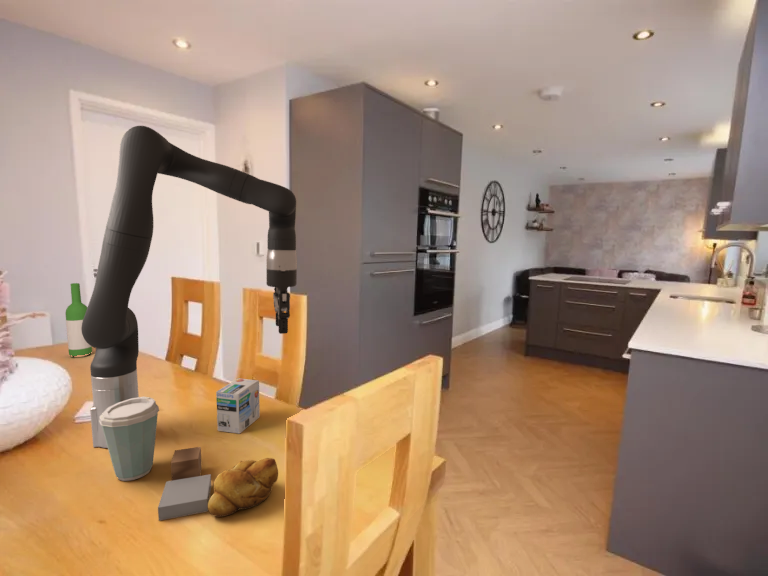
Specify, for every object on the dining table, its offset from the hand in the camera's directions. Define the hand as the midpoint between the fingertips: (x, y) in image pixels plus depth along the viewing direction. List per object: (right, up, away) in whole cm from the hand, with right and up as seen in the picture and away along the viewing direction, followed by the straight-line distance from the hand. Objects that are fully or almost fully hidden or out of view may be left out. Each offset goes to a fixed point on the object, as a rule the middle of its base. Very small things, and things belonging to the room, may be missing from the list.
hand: (281, 329), depth 104 cm
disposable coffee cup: (-27, -29, -19) cm, 44 cm away
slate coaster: (-11, -30, -29) cm, 43 cm away
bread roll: (-1, -30, -28) cm, 41 cm away
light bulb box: (-12, -26, +3) cm, 29 cm away
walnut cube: (-15, -29, -20) cm, 38 cm away
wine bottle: (-99, -17, +61) cm, 117 cm away
